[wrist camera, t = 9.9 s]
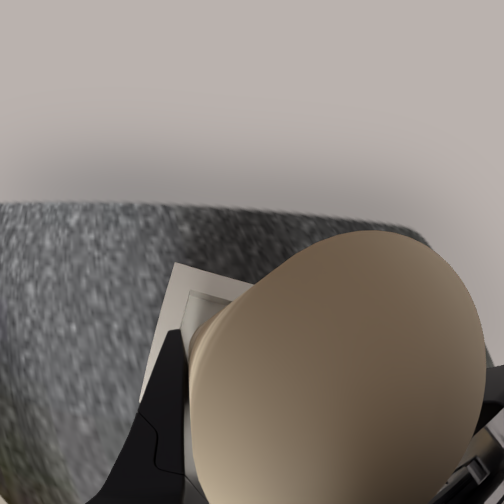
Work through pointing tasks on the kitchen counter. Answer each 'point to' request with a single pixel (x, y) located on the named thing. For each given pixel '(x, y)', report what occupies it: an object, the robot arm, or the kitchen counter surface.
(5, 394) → the kitchen counter surface
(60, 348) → the kitchen counter surface
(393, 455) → the birch post
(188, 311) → the socket base
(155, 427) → the robot arm
